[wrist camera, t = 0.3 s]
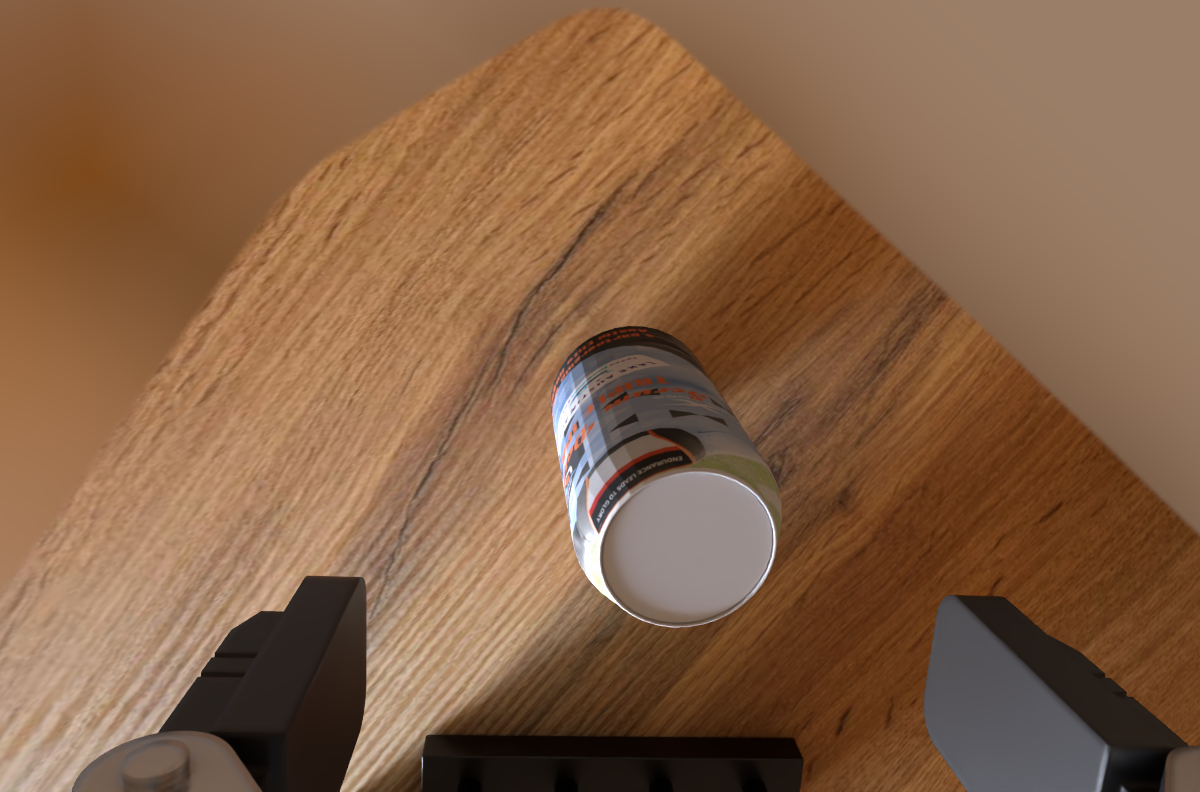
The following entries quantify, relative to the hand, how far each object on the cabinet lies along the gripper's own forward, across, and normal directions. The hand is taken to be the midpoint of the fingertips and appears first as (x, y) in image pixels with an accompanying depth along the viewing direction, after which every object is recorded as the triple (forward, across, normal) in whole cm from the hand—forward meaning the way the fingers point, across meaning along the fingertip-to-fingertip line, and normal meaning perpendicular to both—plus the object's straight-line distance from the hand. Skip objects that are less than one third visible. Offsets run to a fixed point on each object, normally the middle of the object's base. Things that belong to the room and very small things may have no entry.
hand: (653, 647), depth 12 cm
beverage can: (+23, -2, +2) cm, 23 cm away
